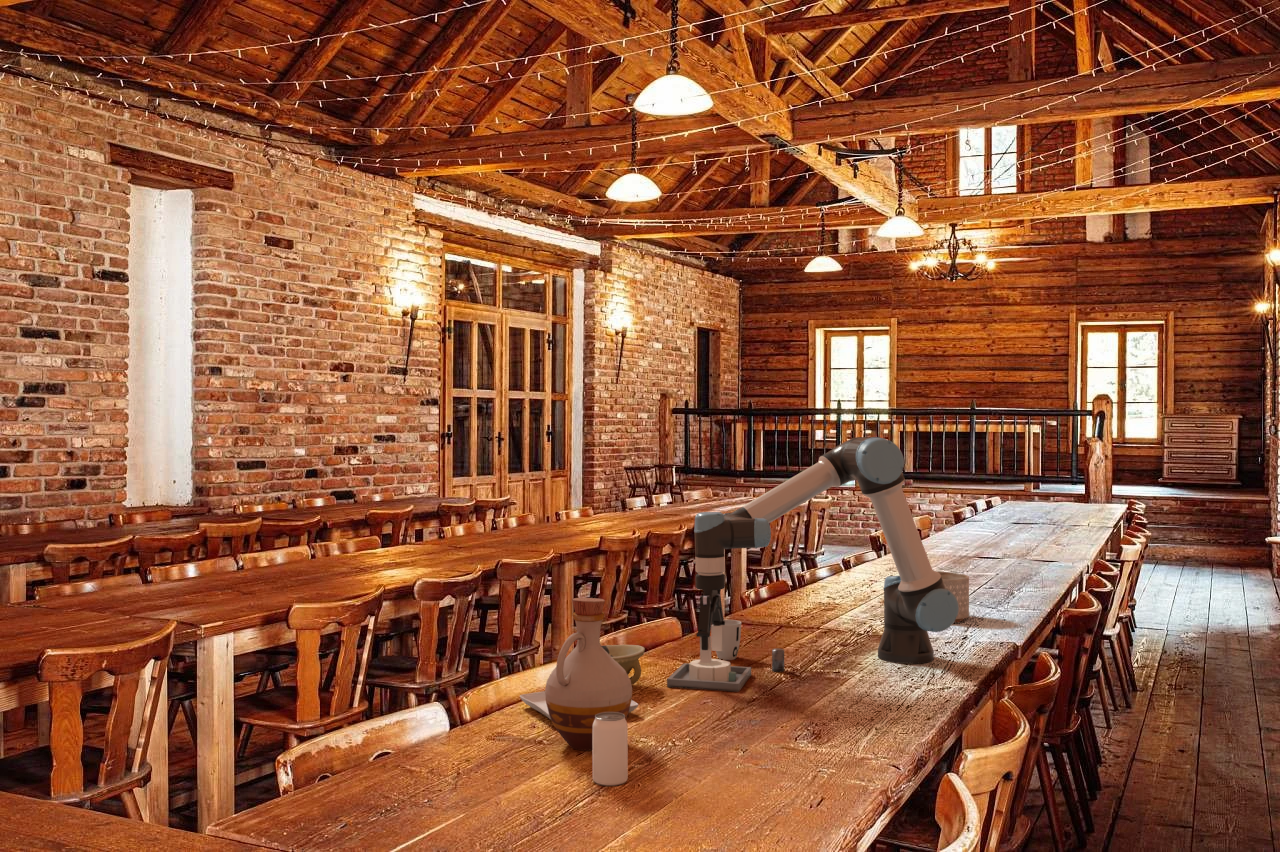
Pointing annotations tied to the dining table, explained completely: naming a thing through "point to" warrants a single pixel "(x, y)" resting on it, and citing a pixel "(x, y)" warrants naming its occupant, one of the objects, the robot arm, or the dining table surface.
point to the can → (610, 749)
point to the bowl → (627, 658)
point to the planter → (958, 591)
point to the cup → (730, 640)
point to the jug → (585, 679)
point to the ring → (711, 671)
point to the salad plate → (540, 705)
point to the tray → (682, 681)
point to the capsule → (778, 660)
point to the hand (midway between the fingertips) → (711, 656)
